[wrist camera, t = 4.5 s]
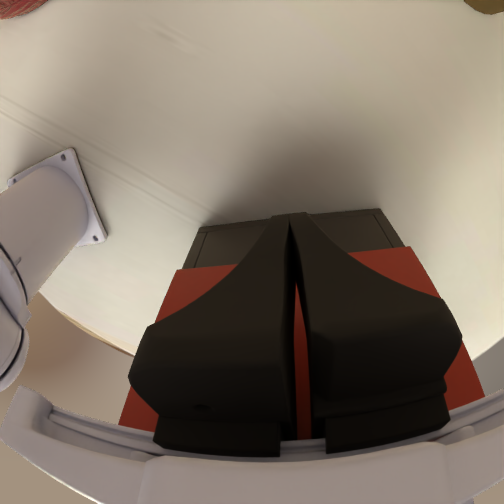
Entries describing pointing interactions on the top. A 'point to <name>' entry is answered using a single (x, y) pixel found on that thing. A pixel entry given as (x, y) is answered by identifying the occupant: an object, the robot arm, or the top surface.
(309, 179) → the top surface
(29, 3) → the kitchen canister
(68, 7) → the top surface
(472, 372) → the lid
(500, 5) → the olive brown oblong piece
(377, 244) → the dark square storage tray
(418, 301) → the robot arm
